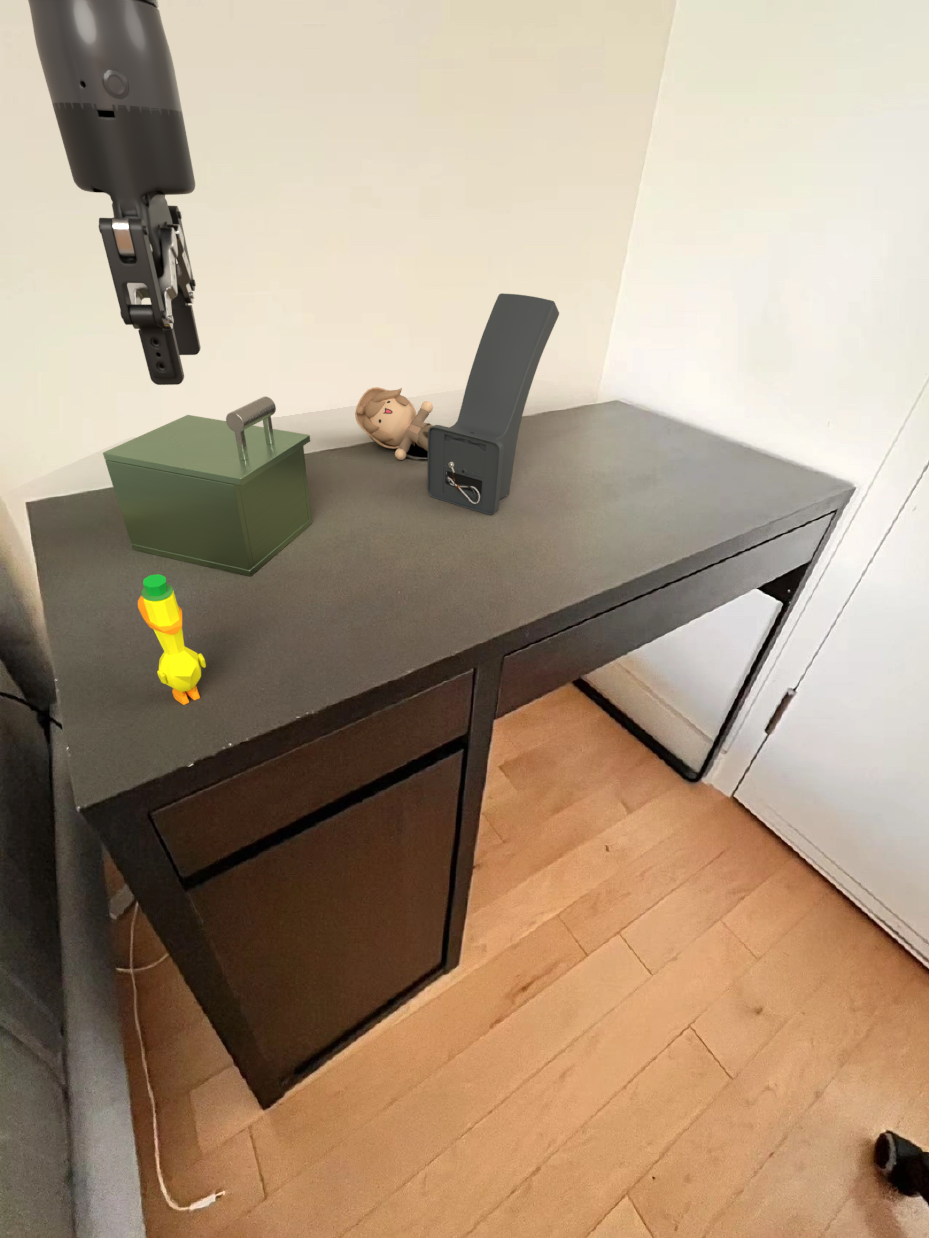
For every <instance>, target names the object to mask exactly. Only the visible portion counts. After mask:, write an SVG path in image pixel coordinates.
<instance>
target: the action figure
mask: <svg viewBox="0 0 929 1238" xmlns="http://www.w3.org/2000/svg"><path fill="white" fill-rule="evenodd" d="M402 389H403V387H401V388H399V389H391V390H389V389H385V388H382V387H379V386H376V387H374V386H373V387H371V388H369V389H368V388H367V390H366V391H365V392H364V393H363V394H362V396H361V397H360V399H359V400H358V402H357V405H356V408H355V410H354V411H355V412H354V416H355V421H356V422H357V425H358V426H359V428H361V429H362V430H363V431H364V432H365V433H366V435H367V436H368V438H370V439H371V440H372V441H373V442H374V443H376V445H378V446H380V447H382V448H384V449H389V450H395V452H394V457H395V458H396V459H397V460H399V461H404V460H405V459H406V458H407V453H408V452H409V450H410V449H411V448H410V447H411V446H413V447H415V445H417V446H418V447H420V448H422V449H423V450H425V452H428V430H429V428H430V427H432V426H434V425H433V424H431V423H430V422H425V421H426V419H427V418H428V417H429V415H430V413H432V412H433V409H434V406H433V403H432V402H430V401H428V400H427V401H423V402H422V403H421V405H420V408H419V410H418V412H417V411H416V408H415V407H414V405H413V404H412V402H411V401H410V400H409V399H408V398H407V397H406V396H405V395H404V396H403V395H402V394H401V393H402Z"/></svg>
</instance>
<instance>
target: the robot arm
mask: <svg viewBox="0 0 929 1238" xmlns="http://www.w3.org/2000/svg"><path fill="white" fill-rule="evenodd" d="M27 1H28V6H29V10H30V16H31V21H32V28H33V35H34V41H35V45H36V49H37V54H38V57H39V61H40V65H41V69H42V72H43V75H44V80H45V83H46V86H47V89H48V93H49V97H50V100H51V105H52V108H53V112H54V115H55V119H56V122H57V126H58V130H59V133H60V136H61V141H62V144H63V147H64V151H65V155H66V158H67V163H68V166H69V169H70V172H71V177H72V180H73V183H74V184H75V185H76V187H78V188H79V190H80V189H81V191H84V192H89V193H96V194H97V193H98V194H99V193H100V194H101V193H102V194H106V195H108V196H109V197H110V200H111V207H112V214H113V217H99V218H98V230H99V233H100V235H101V239H102V243H103V246H104V251H105V254H106V258H107V263H108V267H109V270H110V275H111V278H112V282H113V287H114V290H115V294H116V299H117V303H118V305H119V310H120V311H119V312H120V317H121V319H122V321H123V323H124V324H125V325H126V326H132V327H133V329H134V330H138V334H139V340H140V343H141V347H142V350H143V354H144V359H145V362H146V366H147V369H148V374H149V378H150V380H151V382H152V383H153V384H154V385H157V386H173V385H174V386H175V385H176V386H177V385H180V384H182V382H183V381H184V379H185V373H184V368H183V365H182V360H181V356H197V355H198V354H199V353H200V351H201V343H200V338H199V337H200V336H199V334H198V333H199V332H198V328H197V323H196V319H195V314H194V308H193V305H192V304H194V299H195V294H194V292H195V291H196V287H197V286H196V284H197V283H196V280H195V279H194V275H193V274H194V273H193V271H192V266H191V261H190V256H189V251H188V246H187V241H186V237H185V233H184V231H185V230H184V228H183V222H182V212H181V211H180V209H179V207H178V205H169V204H168V201H167V199H166V196H175V195H176V196H178V195H179V196H180V195H189V194H192V193H193V192H194V191H195V189H196V180H195V175H194V168H193V163H192V157H191V152H190V146H189V142H188V136H187V130H186V125H185V120H184V114H183V109H182V103H181V98H180V92H179V87H178V81H177V76H176V71H175V65H174V62H173V61H174V60H173V57H172V53H171V49H170V45H169V42H168V39H167V36H166V32H165V28H164V25H163V21H162V17H161V12H160V9H158V8H159V1H158V0H27ZM144 299H149V300H150V304H148V303H147V304H142V301H143V300H144Z"/></svg>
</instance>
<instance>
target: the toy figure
mask: <svg viewBox="0 0 929 1238" xmlns="http://www.w3.org/2000/svg"><path fill="white" fill-rule="evenodd" d="M142 581H143V582H142V585H143V588H142V590H141V595H140V596H139V598H138V600H137V609H138V610H139V613H140V616H141V617H142V619H143V620H144V622H145V623H146V624H147V626H148V627H149V628H150V629H152V630H153V631H154V634H155V636H156V638H157V640H158V642H159V644H160V646H161V648H162V650H163V653H162V654H161V656H160V657H159V660H158V670H157V671H156V674H157V677H158V678H159V680H160V683H161V684H164V685H167V686H168V687H170V688H172V690H171V691H172V695H173V698H174V699H175V701H177V702H178V703H180V704H181V705H183V706H185V705H187V704H189V703H190V700H189V698H191V699H192V700H193V701H196V700H199V699H201V696H200V692H199V690H198V686H197V684H198V682H199V681H200V679H201V677H202V668H203V669H205V668H206V667H207V665H206V664H207V663H206V659H205V657H204V655H203V654H202V653H201V652H200V653H198V652H196V651H195V650H193V649H190V648H189V647H187V646H185V641H184V639H185V638H184V632H183V609H182V608H181V607H180V606H179V605H178V602H177V598H176V594H175V590H174V588H173V586H172V585H171V584H170V583H167V577H166V576H164V575H162V574H160V573H159V574H158V573H157V574H150V575H148V576H146V577H145V578H143V580H142Z"/></svg>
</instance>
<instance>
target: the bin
mask: <svg viewBox="0 0 929 1238" xmlns="http://www.w3.org/2000/svg"><path fill="white" fill-rule="evenodd" d="M104 461H105V465H106V468H107V471H108V475H109V477H110V481H111V484H112V487H113V490H114V494H115V497H116V500H117V503H118V506H119V509H120V512H121V516H122V519H123V523H124V526H125V528H126V532H127V536H128V539H129V541H130V544H131V547H132V550H133V551H136V552H137V551H138V552H141V553H145V554H149V555H150V554H151V555H154V556H158V557H164V558H168V559H172V560H176V561H182V562H184V563H185V562H186V563H190V564H194V565H198V566H203V567H207V568H212V569H217V570H220V571H221V570H222V571H224V572H229V573H234V574H239V575H243V576H248V577H252V576H253V575H254V574H256V573H257V572H258V571H259V570H260V569H261V568H262V567H264V566H265V565H266V564H267V563H268V562H269V561H271V560H272V559H273V558H275V556H276V555H278V554H279V553H280V552H281V551H282V550H283V549H284V548H286V547H287V546H288V545H289V544H290V543H292V542H293V541H294V540H295V539H296V538H297V537H298V536H300V535H301V534H302V533H303V532H304V531H305V530H306V529H307V528H309V527H310V526H311V525H312V524H313V520H312V510H311V502H310V493H309V483H308V476H307V467H306V458H305V448H304V446H302V447H301V448H299V449H298V450H296V451H295V452H293V453H292V454H290V455H289V456H287V457H285V458H284V459H282V460H281V461H279V462H278V463H276V464H275V465H273V466H272V467H270V468H269V469H267V470H265V471H264V472H262V473H261V474H259V475H258V476H256V477H255V478H253V479H252V480H250V481H249V482H247V483H246V484H244V485H242V486H241V485H236V484H230V483H225V482H220V481H215V480H209V479H204V478H199V477H194V476H188V475H183V474H178V473H173V472H167V471H162V470H157V469H152V468H146V467H141V466H136V465H131V464H125V463H120V462H115V461H110V460H105V459H104Z"/></svg>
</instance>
